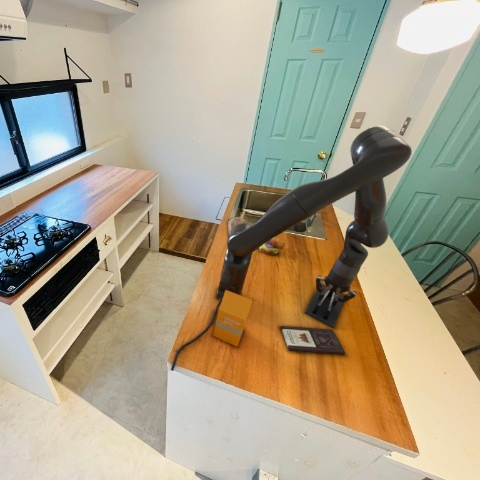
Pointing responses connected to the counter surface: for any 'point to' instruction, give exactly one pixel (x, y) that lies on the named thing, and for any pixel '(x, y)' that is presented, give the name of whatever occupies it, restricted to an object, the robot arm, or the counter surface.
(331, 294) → the tongs
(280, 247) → the cheeseburger
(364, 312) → the counter surface
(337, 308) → the mat
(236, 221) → the fish fossil
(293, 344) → the chocolate bar
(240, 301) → the orange juice
